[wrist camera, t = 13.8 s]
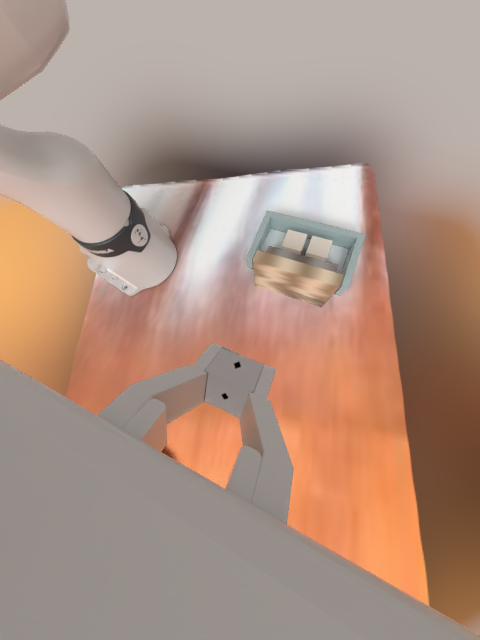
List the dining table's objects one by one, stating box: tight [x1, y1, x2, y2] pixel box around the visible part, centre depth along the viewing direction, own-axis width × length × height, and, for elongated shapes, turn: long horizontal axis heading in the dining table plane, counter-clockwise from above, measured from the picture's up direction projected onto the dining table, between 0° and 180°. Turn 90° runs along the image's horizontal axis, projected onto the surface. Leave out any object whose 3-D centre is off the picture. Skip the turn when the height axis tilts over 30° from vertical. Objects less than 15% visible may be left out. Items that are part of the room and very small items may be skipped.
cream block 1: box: [281, 229, 308, 255], centre depth 40 cm, size 4×4×4 cm
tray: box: [246, 211, 365, 296], centre depth 40 cm, size 20×12×4 cm, turn 68°
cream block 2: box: [305, 236, 333, 261], centre depth 39 cm, size 4×4×4 cm
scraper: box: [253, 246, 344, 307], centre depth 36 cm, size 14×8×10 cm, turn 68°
